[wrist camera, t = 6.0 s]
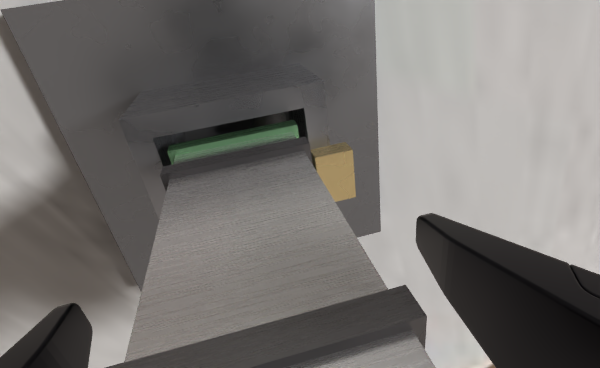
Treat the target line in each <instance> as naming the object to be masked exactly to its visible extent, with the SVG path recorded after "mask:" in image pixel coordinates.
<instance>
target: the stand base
mask: <svg viewBox="0 0 600 368" xmlns="http://www.w3.org/2000/svg"><path fill="white" fill-rule="evenodd" d="M1 12H2V14H3V16H4V18H5V20H6V22H7V24H8V26H9V28H10V30H11V32H12V34H13V36H14V38H15V40H16V42H17V44H18V46H19V48H20V50H21V52H22V54H23V56H24V58H25V60H26V62H27V64H28V66H29V68H30V70H31V72H32V74H33V76H34V78H35V80H36V82H37V84H38V86H39V88H40V90H41V92H42V94H43V96H44V98H45V100H46V102H47V104H48V106H49V108H50V110H51V112H52V114H53V116H54V118H55V120H56V122H57V124H58V126H59V128H60V130H61V132H62V134H63V136H64V138H65V140H66V142H67V144H68V146H69V148H70V150H71V152H72V154H73V156H74V158H75V160H76V162H77V164H78V166H79V168H80V170H81V172H82V174H83V176H84V178H85V180H86V182H87V184H88V186H89V188H90V190H91V192H92V194H93V196H94V198H95V200H96V202H97V204H98V206H99V208H100V210H101V212H102V214H103V216H104V218H105V220H106V222H107V224H108V226H109V228H110V230H111V232H112V234H113V236H114V238H115V240H116V242H117V244H118V246H119V248H120V250H121V252H122V254H123V256H124V258H125V260H126V262H127V264H128V266H129V268H130V270H131V272H132V274H133V276H134V278H135V280H136V282H137V284H138V286H139V288H140V290H141V292H142V288H143V284H144V280H145V276H146V272H147V268H148V264H149V260H150V256H151V252H152V248H153V244H154V240H155V236H156V232H157V228H158V224H159V220H160V216H161V212H162V207H163V203H164V199H165V195H166V190H165V188H164V185H163V182H162V180H161V177H160V173H161V170H162V167H163V166H168V165H172V164H171V161H170V158H169V155H168V152H167V151H168V147H169V145H172V144H177V143H182V142H187V141H192V140H197V139H202V138H206V137H211V136H216V135H221V134H226V133H231V132H236V131H241V130H246V129H251V128H256V127H260V126H265V125H270V124H275V123H280V122H285V121H290V120H294V121H295V122H296V124H297V127H298V133H299V138H301V137H306V139H307V140H308V141H309V143H310V149H311V156H312V164H313V166H314V168H315V170H316V171H317V173H318V174H319V176H320V178H321V179H322V181H323V183H324V184H325V186H326V188H327V189H328V191H329V193H330V194H331V196H332V198H333V199H334V201H335V203H336V204H337V206H338V208H339V209H340V211H341V212H342V214H343V216H344V217H345V219H346V221H347V222H348V224H349V226H350V227H351V229H352V231H353V232H354V234H355V236H356V237H361V236H365V235H369V234H373V233H376V232H380V231H381V226H380V189H379V152H378V115H377V77H376V40H375V3H374V0H63V1H57V2H50V3H43V4H36V5H29V6H23V7H16V8H9V9H2V10H1Z"/></svg>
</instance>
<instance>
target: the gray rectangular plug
mask: <svg viewBox="0 0 600 368" xmlns="http://www.w3.org/2000/svg"><path fill="white" fill-rule="evenodd" d="M167 152H168V155H169V158H170V161H171V164H172V165H168V166H163V167H162V170H161V173H160V177H161V180H162V182H163V185H164V188H165V190H166V195H165V199H164V203H163V207H162V212H161V216H160V220H159V224H158V228H157V232H156V236H155V240H154V244H153V248H152V252H151V256H150V260H149V264H148V268H147V272H146V276H145V280H144V284H143V288H142V292H141V297H140V301H139V305H138V309H137V313H136V317H135V321H134V325H133V329H132V333H131V337H130V341H129V345H128V349H127V353H126V357H125V361H124V363H121V364H117V365H113V366H110V367H106V368H435V366H434V364H433V363H432V361H431V359H430V358H429V356H428V354H427V353H426V351H425V337H426V321H427V316H426V314H425V313H424V311H423V310H422V308H421V307H420V305H419V304H418V302H417V301H416V299H415V298H414V297H413V295H412V294H411V292H410V291H409V289H408V288H407V286H406V285H403V286H400V287H396V288H392V289H389V290H388V288H387V287H386V285H385V283H384V282H383V280H382V278H381V277H380V275H379V274H378V272H377V270H376V269H375V267H374V265H373V264H372V262H371V260H370V259H369V257H368V255H367V254H366V252H365V250H364V249H363V247H362V245H361V244H360V242H359V241H358V239H357V237H356V236H355V234H354V232H353V231H352V229H351V227H350V226H349V224H348V222H347V221H346V219H345V217H344V216H343V214H342V212H341V211H340V209H339V208H338V206H337V204H336V203H335V201H334V199H333V198H332V196H331V194H330V193H329V191H328V189H327V188H326V186H325V184H324V183H323V181H322V179H321V178H320V176H319V174H318V173H317V171H316V170H315V168H314V166H313V164H312V156H311V149H310V143H309V141H308V140H307V139H306V137H301V138H299V133H298V127H297V124H296V122H295V121H294V120H290V121H285V122H280V123H275V124H270V125H265V126H260V127H256V128H251V129H246V130H241V131H236V132H231V133H226V134H221V135H216V136H211V137H206V138H202V139H197V140H192V141H187V142H182V143H177V144H172V145H169V147H168V151H167Z"/></svg>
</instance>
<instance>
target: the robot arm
mask: <svg viewBox="0 0 600 368" xmlns="http://www.w3.org/2000/svg"><path fill="white" fill-rule="evenodd" d="M416 243H417V246H418V249H419V250H420V252H421V254H422V256H423V258H424V259H425V261H426V263H427V265H428V267H429V268H430V270H431V272H432V274H433V276H434V277H435V279H436V281H437V283H438V285H439V286H440V288H441V290H442V291H443V293H444V295H445V296H446V298H447V299H448V301H449V302H450V304H451V305H452V306H453V308H454V309H455V311H456V312H457V313H458V315H459V316H460V318H461V319H462V320H463V322H464V323H465V325H466V326H467V328H468V329H469V330H470V332H471V333H472V335H473V336H474V337H475V339H476V340H477V342H478V343H479V344H480V346H481V347H482V349H483V350H484V351H485V353H486V354H487V356H488V357H489V359H490V360H491V361H492V363H493V364H494V365H495V367H496V368H600V275H599V274H596V273H594V272H591V271H588V270H585V269H583V268H580V267H577V266H575V265H570V266H569V264H568V263H566V262H564V261H561V260H558V259H555V258H553V257H550V256H547V255H545V254H542V253H539V252H537V251H534V250H531V249H528V248H526V247H523V246H520V245H518V244H515V243H512V242H509V241H507V240H504V239H501V238H499V237H496V236H493V235H491V234H488V233H485V232H482V231H480V230H477V229H474V228H472V227H469V226H466V225H463V224H461V223H458V222H455V221H453V220H450V219H447V218H445V217H442V216H439V215H436V214H433V213H429V214H425V215H421V216H419V217H418V218H417V224H416ZM91 341H92V326H91V324H90V322H89V321H88V319H87V318H86V316H85V314H84V313H83V311H82V310H81V308H80V307H79V305H77V304H76V303H71V304H67V305H63V306H59V307H57V308H55V309H54V310H53V311H51V312H50V313H49V314H48V315H47V316H46V317H45V318H44V319H43V320H41V321H40V322H39V323H38V324H37V325H36V326H35V327H34V328H33V329H31V330H30V331H29V332H28V333H27V334H26V335H25V336H24V337H23V338H21V339H20V340H19V341H18V342H17V343H16V344H15V345H14V346H13V347H11V348H10V349H9V350H8V351H7V352H6V353H5V354H4V355H3V356H1V357H0V368H88V363H89V355H90V348H91Z"/></svg>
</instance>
